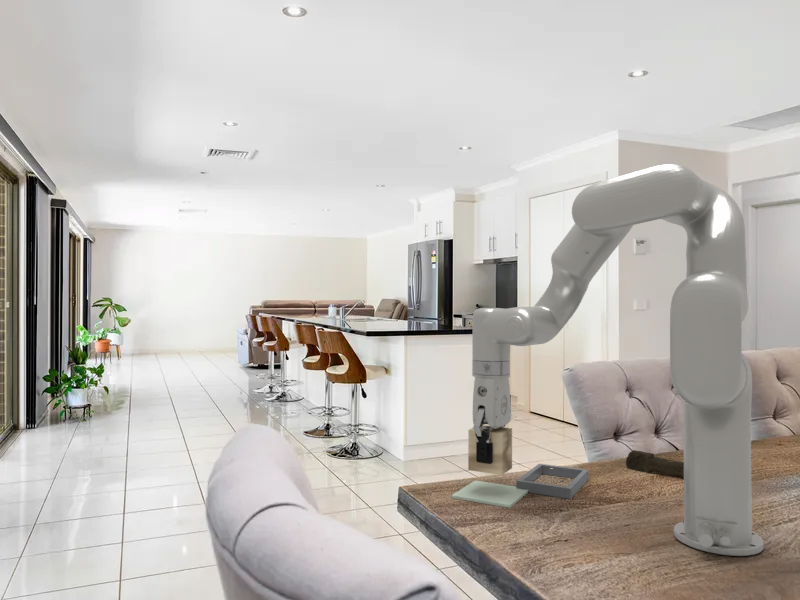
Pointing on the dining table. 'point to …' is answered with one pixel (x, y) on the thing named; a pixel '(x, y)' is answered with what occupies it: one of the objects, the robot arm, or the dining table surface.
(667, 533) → the dining table surface
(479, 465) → the block
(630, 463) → the hand tool
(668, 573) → the dining table surface
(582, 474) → the gray rectangular frame
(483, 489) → the pad
